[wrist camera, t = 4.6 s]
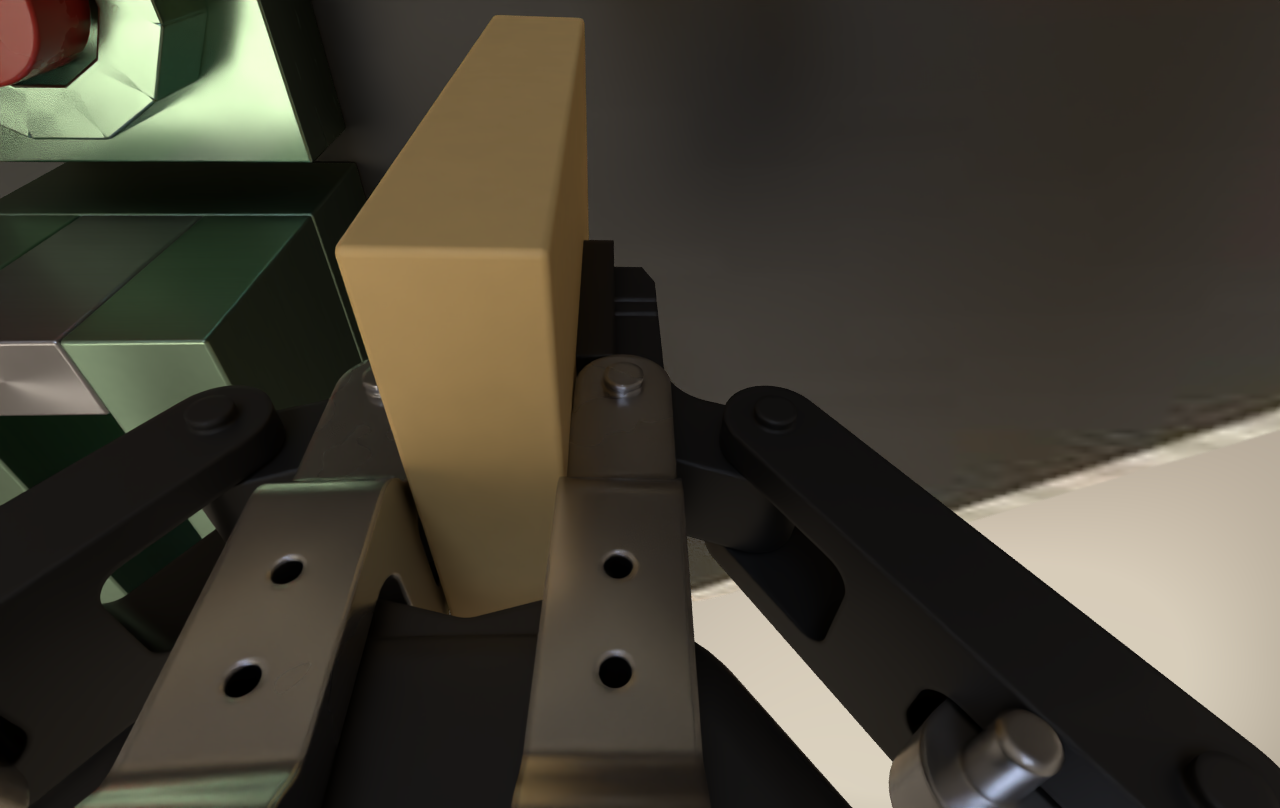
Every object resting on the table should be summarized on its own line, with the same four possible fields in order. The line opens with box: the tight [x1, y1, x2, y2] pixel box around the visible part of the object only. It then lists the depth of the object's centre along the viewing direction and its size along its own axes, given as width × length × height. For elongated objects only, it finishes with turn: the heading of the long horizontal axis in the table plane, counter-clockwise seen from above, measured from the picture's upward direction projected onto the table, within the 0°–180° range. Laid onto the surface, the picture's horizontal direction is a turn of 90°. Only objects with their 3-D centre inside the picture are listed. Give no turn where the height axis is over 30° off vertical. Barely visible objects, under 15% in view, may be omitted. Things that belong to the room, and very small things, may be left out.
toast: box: [335, 15, 589, 618], centre depth 10 cm, size 8×2×8 cm, turn 178°
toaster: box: [0, 162, 369, 604], centre depth 21 cm, size 14×9×10 cm, turn 179°
